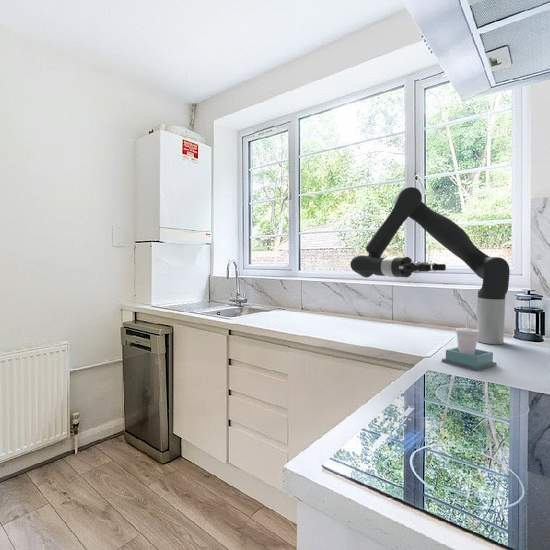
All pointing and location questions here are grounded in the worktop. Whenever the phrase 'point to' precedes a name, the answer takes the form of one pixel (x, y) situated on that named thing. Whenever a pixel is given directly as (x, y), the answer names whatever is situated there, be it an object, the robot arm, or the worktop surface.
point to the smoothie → (467, 339)
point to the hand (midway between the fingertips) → (437, 267)
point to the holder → (470, 359)
